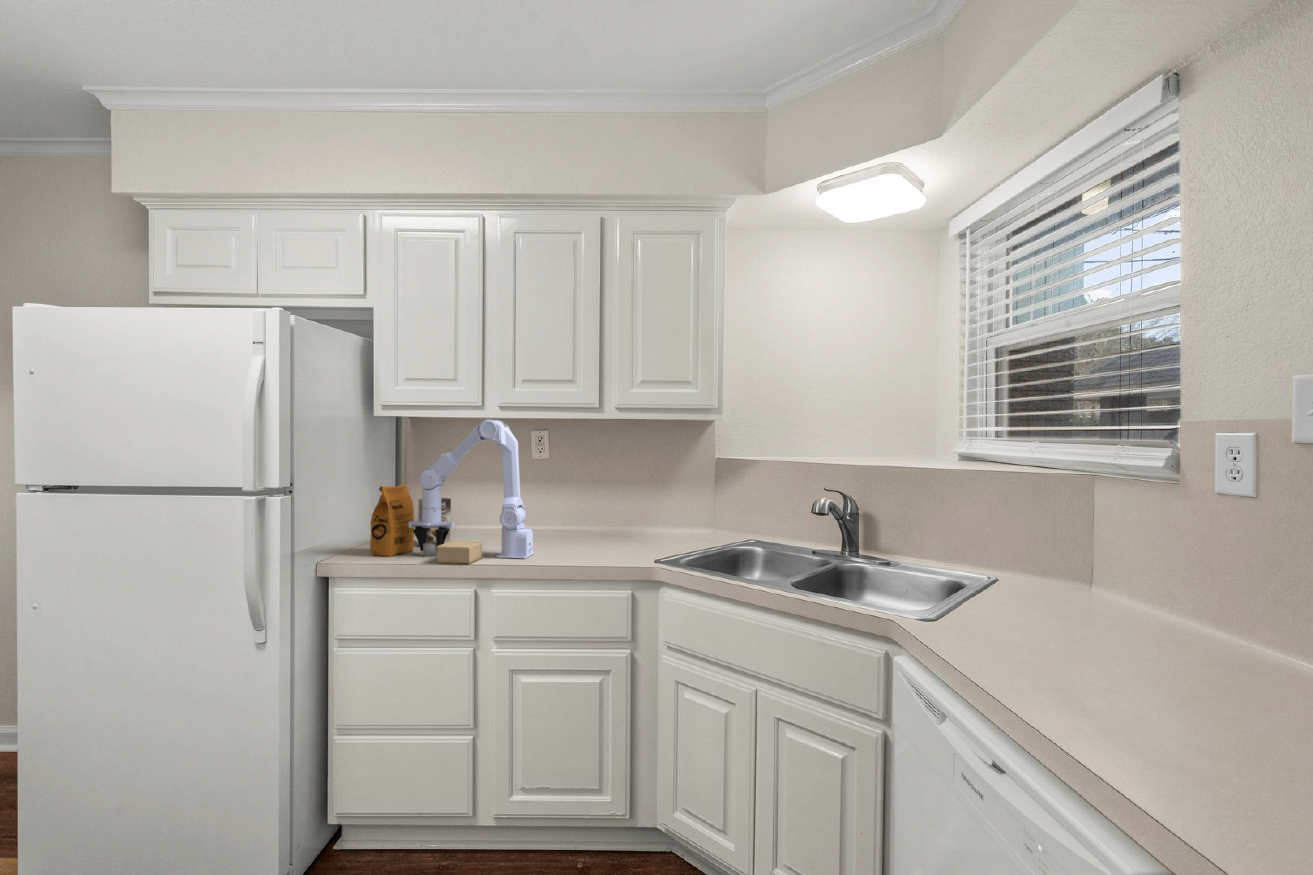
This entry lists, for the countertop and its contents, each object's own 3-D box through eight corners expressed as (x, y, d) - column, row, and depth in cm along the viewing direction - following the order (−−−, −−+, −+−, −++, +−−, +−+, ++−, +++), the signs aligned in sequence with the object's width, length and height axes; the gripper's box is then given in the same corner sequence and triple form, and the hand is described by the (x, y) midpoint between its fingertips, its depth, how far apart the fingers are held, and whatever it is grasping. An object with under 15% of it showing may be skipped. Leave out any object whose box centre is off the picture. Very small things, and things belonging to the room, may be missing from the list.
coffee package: (364, 555, 190) (365, 486, 190) (395, 548, 202) (395, 483, 202) (388, 557, 187) (389, 487, 187) (418, 550, 198) (418, 484, 198)
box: (481, 558, 187) (482, 544, 187) (469, 564, 178) (469, 549, 178) (451, 557, 188) (451, 543, 188) (437, 563, 179) (437, 548, 179)
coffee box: (427, 547, 204) (428, 500, 204) (417, 545, 208) (417, 499, 208) (451, 544, 211) (451, 498, 211) (440, 542, 215) (441, 497, 215)
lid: (482, 543, 187) (482, 542, 187) (469, 549, 178) (469, 547, 177) (451, 542, 188) (451, 541, 188) (436, 548, 179) (436, 546, 179)
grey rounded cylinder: (441, 553, 194) (441, 541, 194) (437, 556, 189) (437, 543, 189) (425, 553, 194) (426, 541, 194) (420, 556, 189) (420, 543, 189)
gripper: (403, 508, 188) (403, 552, 189) (447, 510, 187) (446, 553, 187) (415, 506, 195) (415, 548, 196) (457, 507, 194) (457, 549, 194)
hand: (431, 550), depth 192 cm, fingers closed on grey rounded cylinder, 5 cm apart
